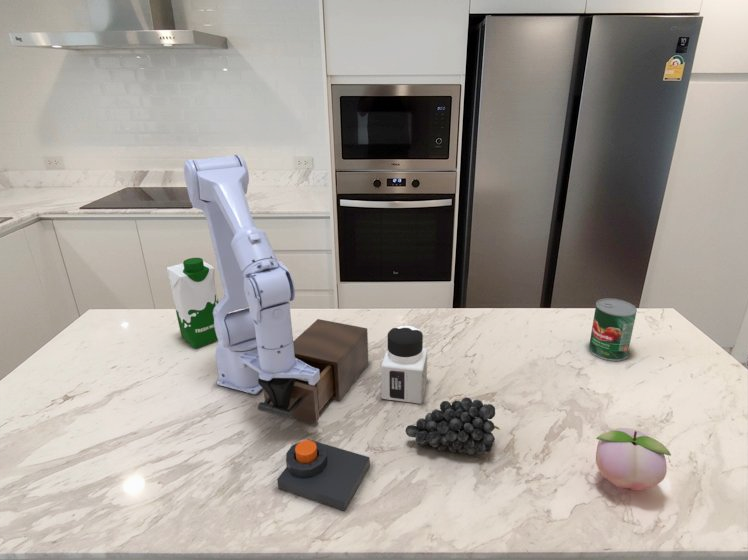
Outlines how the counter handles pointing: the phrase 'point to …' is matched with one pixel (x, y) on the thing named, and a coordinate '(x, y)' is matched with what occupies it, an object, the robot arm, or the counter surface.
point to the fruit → (457, 427)
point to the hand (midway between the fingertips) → (282, 409)
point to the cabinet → (335, 351)
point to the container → (404, 366)
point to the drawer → (305, 395)
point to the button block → (325, 475)
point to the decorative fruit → (631, 459)
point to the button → (306, 451)
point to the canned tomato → (612, 329)
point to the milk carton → (194, 300)
